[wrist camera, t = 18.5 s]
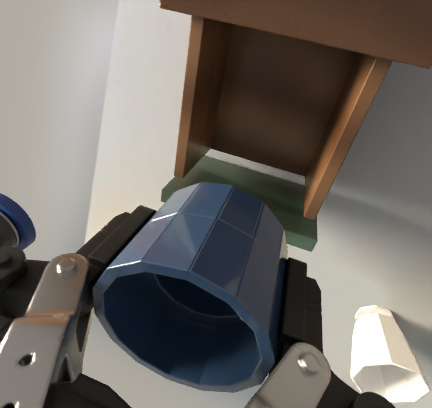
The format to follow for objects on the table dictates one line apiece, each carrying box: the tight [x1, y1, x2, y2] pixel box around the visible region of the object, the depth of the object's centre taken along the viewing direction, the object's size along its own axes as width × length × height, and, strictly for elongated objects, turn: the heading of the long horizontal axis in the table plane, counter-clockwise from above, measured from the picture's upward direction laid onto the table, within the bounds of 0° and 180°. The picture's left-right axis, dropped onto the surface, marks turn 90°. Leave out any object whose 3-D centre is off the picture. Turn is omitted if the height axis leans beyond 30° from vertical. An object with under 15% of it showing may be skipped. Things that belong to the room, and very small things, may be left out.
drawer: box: [161, 15, 392, 252], centre depth 23 cm, size 20×13×8 cm, turn 169°
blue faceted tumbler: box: [92, 182, 288, 393], centre depth 11 cm, size 6×6×6 cm
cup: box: [351, 305, 431, 402], centre depth 32 cm, size 7×10×8 cm
